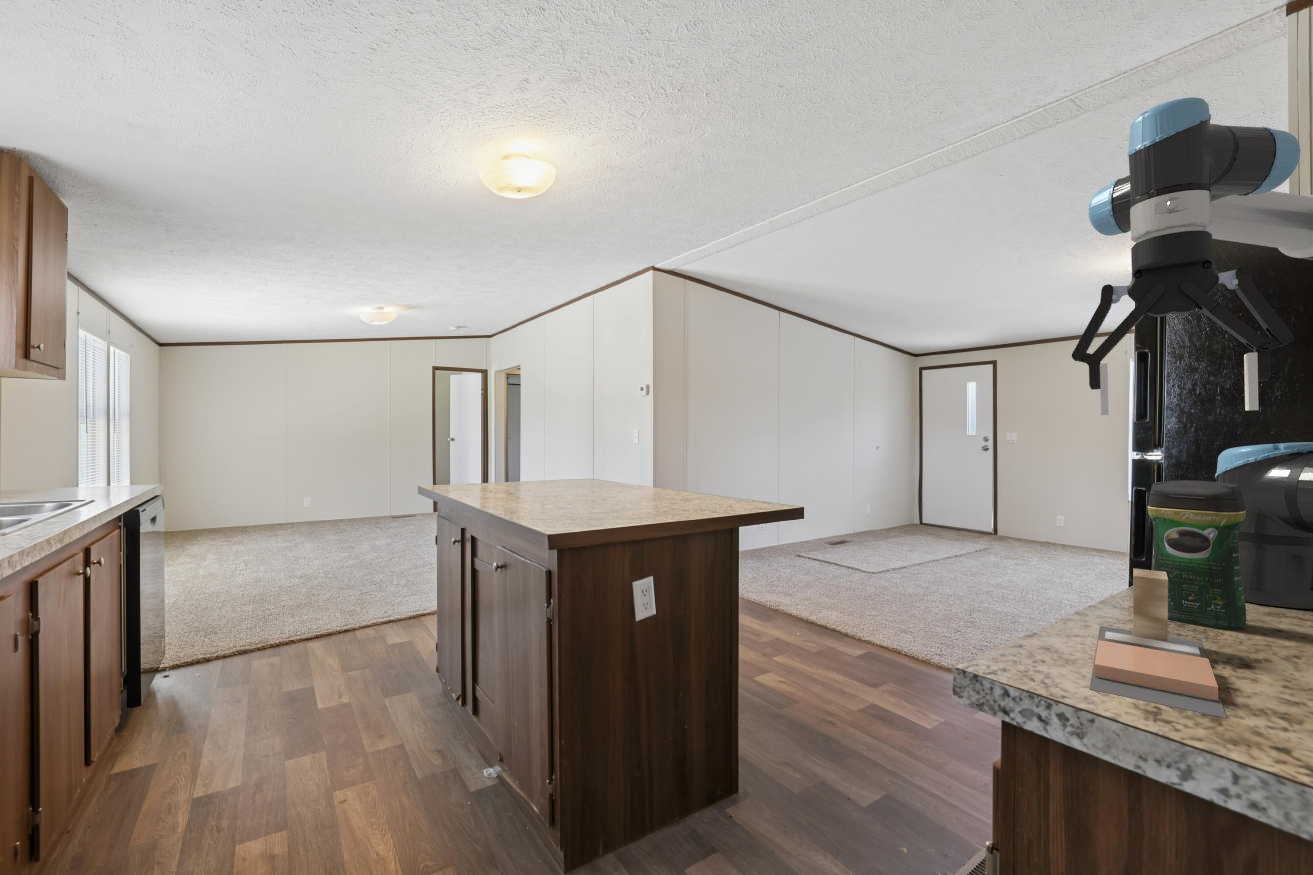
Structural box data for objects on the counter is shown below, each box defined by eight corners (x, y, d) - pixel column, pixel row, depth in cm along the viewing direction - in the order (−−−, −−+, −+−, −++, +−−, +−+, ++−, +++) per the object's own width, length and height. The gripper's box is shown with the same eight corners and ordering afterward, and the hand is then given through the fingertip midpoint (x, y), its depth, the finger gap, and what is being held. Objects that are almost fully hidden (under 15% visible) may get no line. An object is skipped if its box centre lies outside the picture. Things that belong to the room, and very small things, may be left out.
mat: (1200, 645, 71) (1200, 641, 71) (1226, 723, 52) (1226, 717, 52) (1099, 629, 77) (1099, 625, 77) (1089, 694, 58) (1089, 688, 58)
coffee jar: (1251, 625, 79) (1252, 481, 79) (1238, 637, 74) (1240, 484, 74) (1157, 608, 87) (1158, 477, 87) (1139, 618, 82) (1141, 479, 82)
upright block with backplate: (1193, 644, 70) (1194, 574, 70) (1200, 665, 64) (1200, 588, 64) (1107, 630, 75) (1107, 565, 75) (1104, 648, 69) (1105, 577, 68)
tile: (1208, 658, 62) (1218, 687, 55) (1208, 671, 62) (1218, 702, 55) (1098, 639, 67) (1094, 663, 60) (1098, 652, 67) (1094, 677, 60)
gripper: (1045, 251, 79) (1049, 417, 79) (1329, 203, 64) (1333, 407, 64) (1050, 263, 85) (1054, 416, 85) (1310, 221, 70) (1314, 408, 70)
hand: (1174, 413), depth 74 cm, fingers open, 13 cm apart
